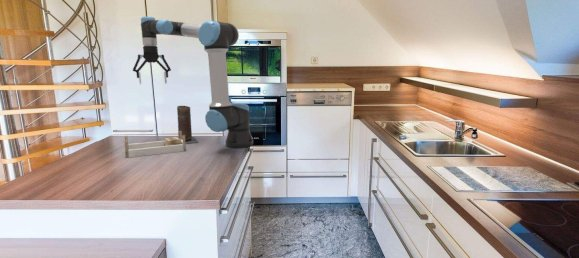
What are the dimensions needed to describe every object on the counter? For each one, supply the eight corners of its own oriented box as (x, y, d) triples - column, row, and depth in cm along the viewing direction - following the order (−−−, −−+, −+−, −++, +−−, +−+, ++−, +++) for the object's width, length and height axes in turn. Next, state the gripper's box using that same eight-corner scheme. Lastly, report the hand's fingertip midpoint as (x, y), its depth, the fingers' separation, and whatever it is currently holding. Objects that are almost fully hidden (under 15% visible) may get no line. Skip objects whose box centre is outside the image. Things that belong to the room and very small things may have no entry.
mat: (194, 137, 200) (193, 136, 200) (198, 142, 187) (198, 142, 187) (169, 139, 194) (169, 139, 194) (172, 145, 181) (172, 144, 181)
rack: (182, 145, 182) (181, 130, 180) (186, 150, 171) (185, 135, 169) (126, 150, 170) (124, 135, 169) (126, 157, 159) (124, 141, 157)
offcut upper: (176, 142, 179) (176, 136, 178) (180, 144, 173) (180, 139, 173) (165, 143, 175) (164, 138, 175) (169, 146, 170) (168, 140, 169)
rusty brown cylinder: (187, 138, 196) (185, 104, 192) (195, 140, 192) (193, 106, 188) (176, 140, 190) (173, 106, 186) (183, 142, 186) (181, 107, 182)
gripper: (172, 46, 194) (175, 82, 198) (125, 45, 183) (129, 83, 188) (174, 45, 187) (176, 83, 192) (125, 45, 176) (129, 84, 181)
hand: (153, 83), depth 190 cm, fingers open, 13 cm apart
